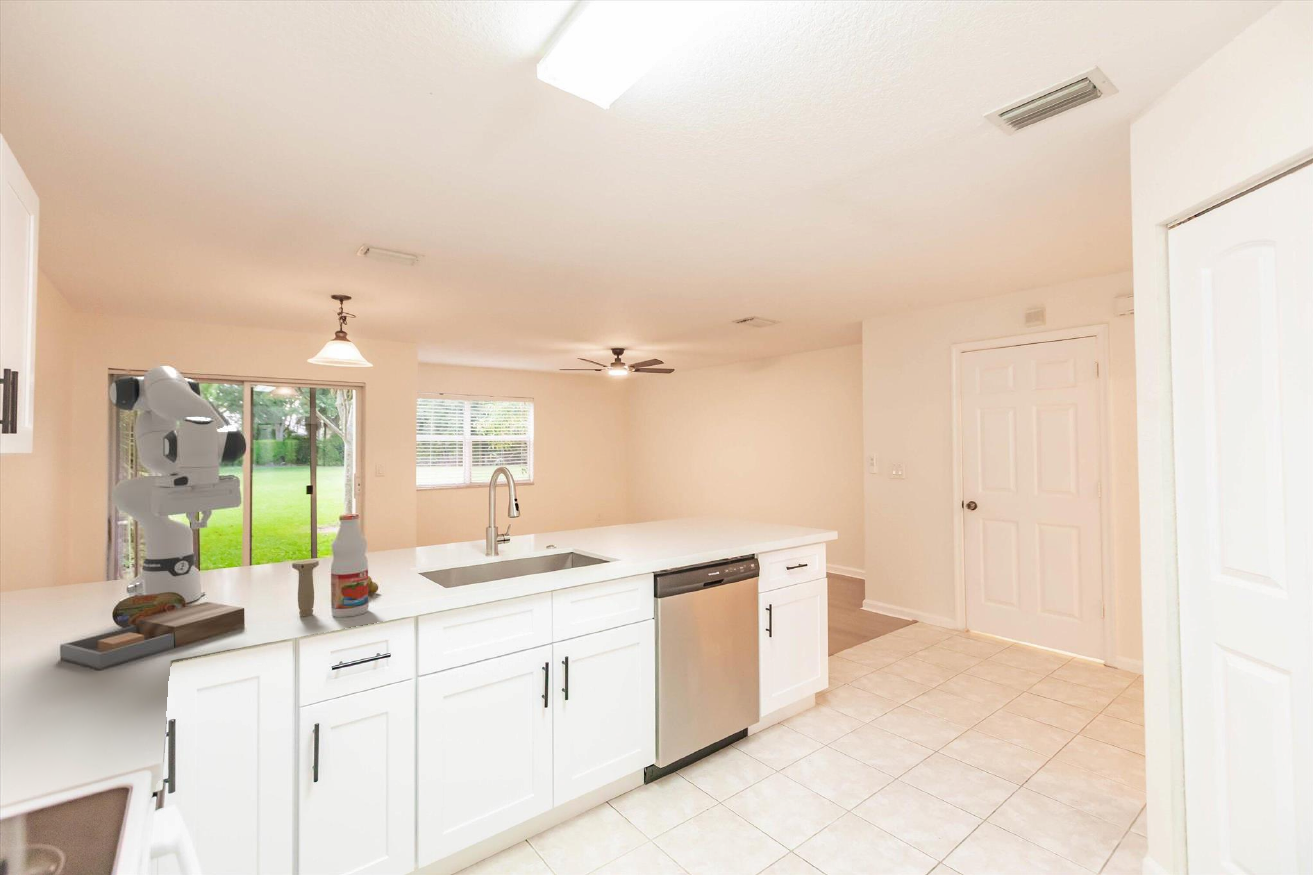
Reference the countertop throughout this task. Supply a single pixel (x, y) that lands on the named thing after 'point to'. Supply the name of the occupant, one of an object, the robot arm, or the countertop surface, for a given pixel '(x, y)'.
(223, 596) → the countertop surface
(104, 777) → the countertop surface
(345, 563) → the fruit juice
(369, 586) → the bread roll
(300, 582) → the handle
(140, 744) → the countertop surface
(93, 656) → the box
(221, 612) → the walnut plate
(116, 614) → the tin
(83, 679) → the countertop surface
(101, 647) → the terracotta block
